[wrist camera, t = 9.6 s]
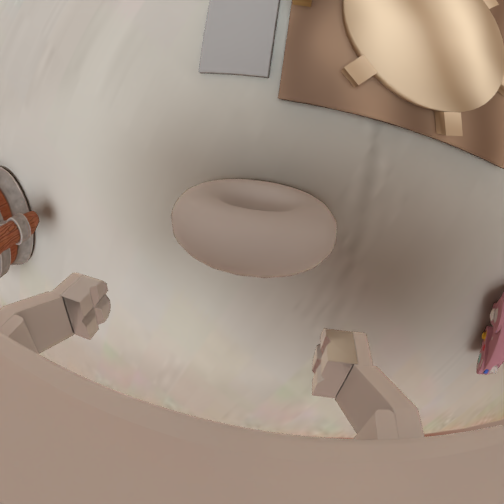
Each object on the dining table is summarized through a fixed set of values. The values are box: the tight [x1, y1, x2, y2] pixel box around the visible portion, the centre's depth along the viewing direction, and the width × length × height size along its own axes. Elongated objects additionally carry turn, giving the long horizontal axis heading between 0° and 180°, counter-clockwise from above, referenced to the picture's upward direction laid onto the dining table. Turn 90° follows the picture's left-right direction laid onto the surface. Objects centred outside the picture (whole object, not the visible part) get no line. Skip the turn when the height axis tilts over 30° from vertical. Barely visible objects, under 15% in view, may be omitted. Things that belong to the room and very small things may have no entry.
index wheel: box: [341, 0, 504, 136], centre depth 10 cm, size 15×15×6 cm
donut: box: [171, 179, 337, 278], centre depth 18 cm, size 10×4×10 cm, turn 84°
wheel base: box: [278, 0, 504, 169], centre depth 12 cm, size 19×16×4 cm
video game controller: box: [477, 292, 504, 375], centre depth 21 cm, size 10×5×7 cm, turn 11°
